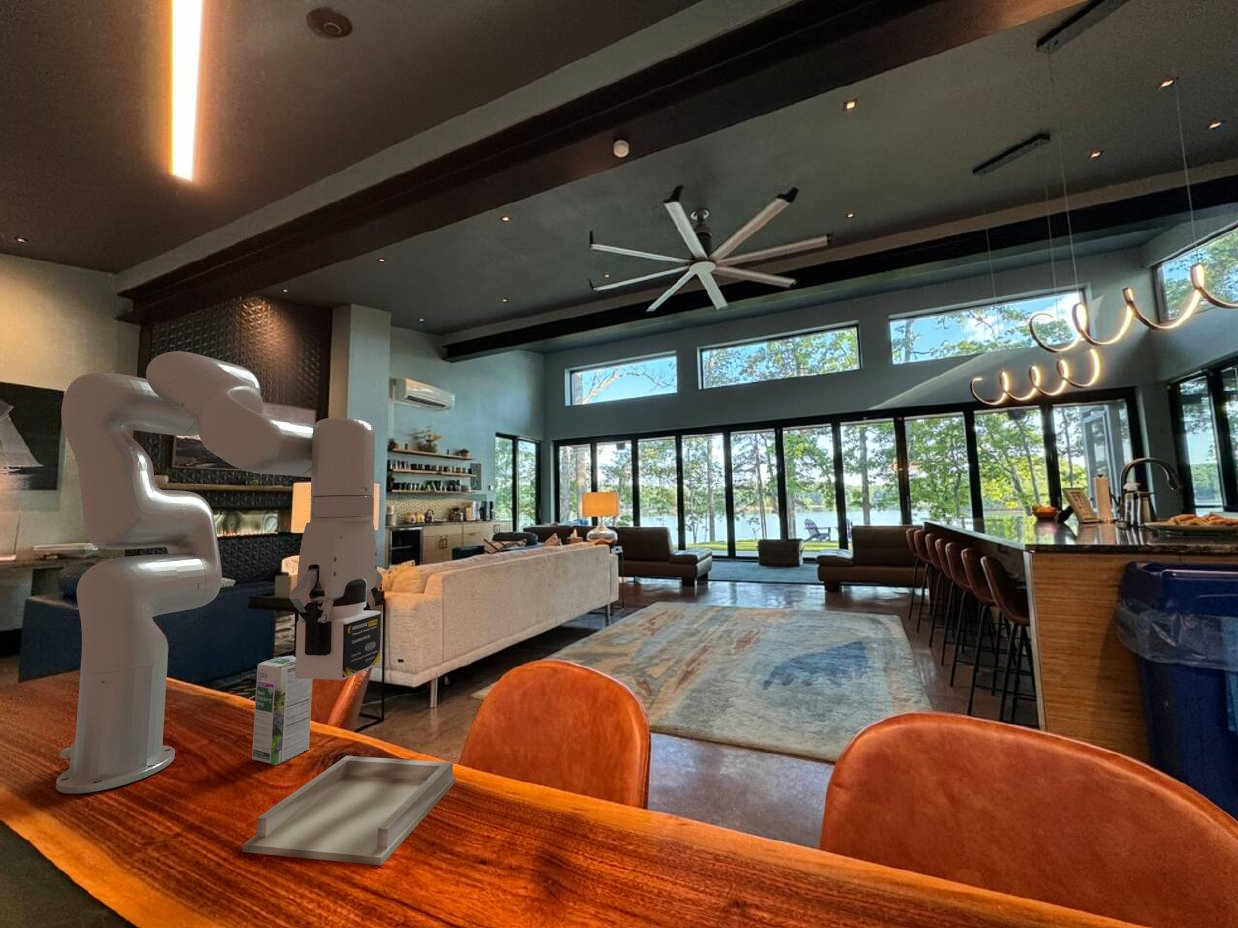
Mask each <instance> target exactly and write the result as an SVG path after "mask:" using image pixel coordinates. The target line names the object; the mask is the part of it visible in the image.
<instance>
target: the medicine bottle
mask: <svg viewBox="0 0 1238 928" xmlns="http://www.w3.org/2000/svg"><path fill="white" fill-rule="evenodd" d="M366 583H367V582H366V581H365V580H364V579H356V580H353V581H351V582H349V583H348V584H347V585H346V587H345V591H344V595H343V596H342V597H341V598H339V599H336V600H335V601H334V604H333V606H332V609H331V612H330V614H329V617H328V620H327V621H332V624H331V653H330V654H328V655H326V656H314V655H306V654H305V623H303V622H302V621H301V619H299V620H298V621H297V622H296V631H295V633H296V635H295V636H296V638H295V641H296V642H295V657H296V666H295V677H296V678H302V679H312V680H328V681H330V680H333V681H346V680H348V678H351V677H354V676H356V675H358V674H360V673H362V672H364V671H366V670H369V669H371V668H374V667H376V666H379V665H380V664H381V634H382V633H381V630H382V629H381V627H382V626H381V625H382V621H381V620H382V613H381V611H380V610H372V611H363V608H364V607H366ZM319 596H324V592H322V593H319ZM322 604H323V603H317V607H318V608H319V609H320V610H321V607H322Z"/></svg>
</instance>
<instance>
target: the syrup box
mask: <svg viewBox="0 0 1238 928" xmlns="http://www.w3.org/2000/svg"><path fill="white" fill-rule="evenodd" d="M295 666H296V656H293V655H286V656H279V657H276V658H272V659H269V660H266V661H262V662H260V663H258V664H257V671H256V684H255V685H256V687H255V689H256V690H255V702H254V704H255V705H254V716H253V717H254V718H253V719H254V720H253V721H254V722H253V735H252V736H253V738H252V751H251V753H252V755H251V759H252V761H259V762H263V763H267V764H270V765H273V766H277V765H280V764H282V763H284V762H287V761H289V760H290V759H292V758H295V757H296V756H299V755H301V754H302V753H304V751H305V752H307V751H308V749H309V750H310V737H311V736H310V735H311V734H310V733H311V714H312V695H313V694H312V693H313V679H302V678H296V677H295ZM306 750H307V751H306Z"/></svg>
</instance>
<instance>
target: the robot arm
mask: <svg viewBox="0 0 1238 928" xmlns="http://www.w3.org/2000/svg"><path fill="white" fill-rule="evenodd" d="M145 372H146V373H145V375H146V376H145V377H146V378H143V377H139V376H134V375H128V374H121V373H112V372H92V373H86V374H83V375H81V376H79V377H76V378H75V379H73V381H72V382H71V383H70V384H69V386H68V387H67V388H66V391H65V393H64V396H63V399H62V404H61V423H62V427H63V428H62V429H63V431H64V434H65V437H66V441H67V442H68V444H69V447H70V450H71V451H72V453H73V456H74V459H75V461H76V463H77V469H78V477H79V488H80V489H79V490H80V495H81V504H82V505H81V506H82V513H83V514H82V516H83V523H84V528H85V533H86V536H87V538H88V540H89V542H90V543H91V544H92V545H93V546H94V547H96V548H99V549H102V550H103V549H104V550H117V551H118V550H139V549H141V550H142V549H152V548H166V550H167V553H166V554H165V553H161V554H160V553H159V554H158V553H157V554H142V555H134V556H133V555H132V556H131V555H130V556H122V557H115V558H112V559H111V558H110V559H106V560H103V561H101V562H98V563H96V564H95V565H92V566H91V567H89V568H88V569H87V570H86V571H85V572H83V573H82V575H81V576H80V578H79V580H78V583H77V585H76V586H77V587H76V600H77V607H78V611H79V616H80V617H79V618H80V624H81V660H80V674H79V675H80V677H79V689H78V690H79V691H78V702H77V703H78V704H77V712H76V713H77V714H76V715H77V716H76V729H75V740H74V741H73V743H72V744H71V746H70V747H64V748H63V749H62V750H61V751H60V754H59V757H60V758H61V759H69V768H68V769H66V770H65V771H64V772H62V773H61V774H60V775H59V776H58V777H57V778H56V782H55V783H56V784H55V789H56V790H57V791H58V792H60V793H62V794H67V795H68V794H69V795H74V794H75V795H76V794H91V793H95V792H100V791H101V792H102V791H106V790H110V789H113V788H118V787H121V786H122V787H123V786H125V785H128V784H131V783H135V782H137V781H140V780H143V779H144V778H147V777H149V776H151V775H154V774H156V773H158V772H160V771H161V770H164V769H165V768H166V767H168V766H169V765H170V764H171V763H172V762H173V761H174V759H175V757H176V756H175V754H176V750H175V748H173V747H172V746H169V745H167V744H166V745H164V743H163V741H164V740H163V739H164V724H165V723H164V722H165V712H166V711H165V708H166V696H167V695H166V691H167V678H168V677H167V675H168V661H169V658H168V656H169V655H168V654H169V643H168V639H167V637H166V635H165V633H164V632H163V631H162V630H161V628H159V626H158V625H157V624H156V622H155V621H154V619H153V617H156V616H160V615H164V614H171V613H176V612H182V611H186V610H193V609H198V608H201V607H204V606H206V605H208V604H210V603H211V602H212V601H214V599H216V597H217V596H218V594H219V592H220V590H221V587H222V581H223V573H222V572H223V571H222V570H223V569H222V562H221V555H220V548H219V542H218V541H219V540H218V536H217V535H218V534H217V528H216V522H215V521H216V520H215V517H214V516H215V515H214V513H213V510H212V508H211V506H210V504H209V503H208V501H207V500H206V499H205V498H204V497H202V496H201V495H200V494H198V493H195V492H193V491H187V490H175V489H174V490H172V489H169V490H168V489H160V488H159V487H158V486H157V483H156V481H155V475H154V465H153V461H152V460H151V458H150V456H149V455H148V453H147V451H145V449H144V448H143V447H142V446H141V444H140V443H139V442H138V441H136V440H135V439H134V438H133V437H132V436H131V435H130V434H129V433H128V430H131V431H139V432H146V433H153V434H159V435H160V434H161V435H168V436H169V435H170V436H176V437H177V436H179V437H194V436H199V440H200V441H201V444H202V445H203V446H204V447H205V449H207V450H208V451H209V452H211V453H212V454H214V455H215V456H217V457H219V458H220V459H221V460H223V461H224V462H226V463H227V464H230V465H231V466H233V467H235V468H237V469H239V470H242V471H245V472H249V473H253V474H262V475H263V474H264V475H277V476H278V475H279V476H280V475H281V476H290V477H291V476H292V477H301V478H303V477H304V478H311V479H310V513H309V514H310V515H309V516H310V518H309V522H306V524H305V527H304V529H303V534H302V539H301V544H300V548H299V549H300V550H299V556H298V564H297V565H298V567H297V576H296V586H295V587H294V588H293V589H292V590H291V591H290V592H289V595H288V596H289V597H288V598H289V600H290V602H292V604H293V605H294V608H295V610H296V613H297V614H298V615H299V616H300V617H301V619H300V620H301V621H302V622H303V623H305V654H306V655H314V656H326V655H328V654H330V653H331V624H332V621H327V620H328V617H329V614H330V612H331V609H332V606H333V604H334V601H335V600H336V599H339V598H341V597H342V596H343V595H344V591H345V587H346V585H347V584H348V583H349V582H351V581H353V580H356V579H364V580H365V581H366V582H367V583H366V607H364V608H363V611H373V609H374V608H375V606H376V598H377V596H378V595H379V590H380V587H381V585H382V583H383V581H384V580H383V579H384V577H383V575H382V574H381V573H380V572H379V571H378V552H377V551H378V550H377V538H376V537H377V536H376V531H375V530H376V529H375V524H374V523H375V522H374V520H375V519H374V518H375V517H374V515H375V510H374V507H375V497H374V496H375V451H376V450H375V444H376V441H375V440H376V439H375V436H376V435H375V429H374V427H373V425H372V424H370V422H368V421H365V420H362V419H356V418H352V417H351V418H348V417H329V418H323V419H320V420H318V421H317V422H315V424H310V423H306V422H305V423H304V422H301V421H295V420H290V419H285V418H278V417H272V416H267V415H264V414H262V413H263V410H264V400H263V399H264V398H263V397H262V395H261V385H260V382H259V381H258V379H257V377H256V376H255V374H254V373H252V372H251V371H250V370H249V369H247V368H246V367H243V366H241V365H238V364H234V363H232V362H228V361H223V360H220V359H217V358H212V357H209V356H205V355H202V354H198V353H193V352H189V351H180V350H179V351H178V350H177V351H170V352H164V353H161V354H159V355H157V356H156V357H154V358H153V359H152V360H151V361H150V362H149V363H148V365H147V368H146V370H145ZM322 592H324V596H319V593H322ZM317 603H323V604H322V607H321V610H320V609H319V608H318V607H317Z"/></svg>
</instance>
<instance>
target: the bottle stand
mask: <svg viewBox="0 0 1238 928" xmlns="http://www.w3.org/2000/svg"><path fill="white" fill-rule="evenodd" d="M441 762H443V763H441ZM453 765H454V763H453V762H448V761H436V760H435V761H433V760H418V759H416V760H415V759H401V758H385V757H370V756H355V755H354V756H353V755H345V756H344V757H343V758H341V759H340V760H338V761H337V762H335V763H334V764H333V765H331V766H330V767H328V768H326V769H325V770H324V771H322V772H321V773H320V774H318V775H317V776H315V777H314V778H313V779H311V780H310V781H308V782H307V783H306V784H304V785H302V786H301V787H299V788H298V789H297V790H296V791H294V792H292V793H290V794H289V795H288V796H287V797H285V798H284V799H282V800H281V801H279V802H278V803H277V804H275V805H273V807H271V808H269V809H268V810H267V811H265V812H264V813H262V814H261V815H259V816H258V817H256V818H257V822H256V834H255V835H254V836H252V837H251V838H250V839H248V840H247V841H246V842H244V843H243V844H242V853H248V854H249V853H250V854H261V855H269V856H279V857H280V856H282V857H291V858H300V859H312V860H323V861H333V862H342V863H352V864H362V865H363V864H364V865H374V866H382V865H383V864H384V863H385V862H386V861H387V860H388V859H389V858H390V856H392V854H394V852H395V851H396V850H397V849H398V847H400V845H401V844H402V843H403V842H404V841H405V840H406V839H407V838H408V837H409V835H410V834H411V833H412V832H413V831H414V830H415V829H416V828H417V826H419V824H420V823H421V822H422V821H423V820H424V819H425V817H426V816H428V814H429V813H430V812H431V811H432V810H433V809H434V807H436V805H437V804H438V803H439V802H440V800H441V799H443V798H444V796H445V795H446V794H447V793H448V792H449V791H450V789H452V787H453V786H454V785H455V784H456V780H457V779H456V776H453V774H454V773H453V768H454V767H453Z"/></svg>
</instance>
